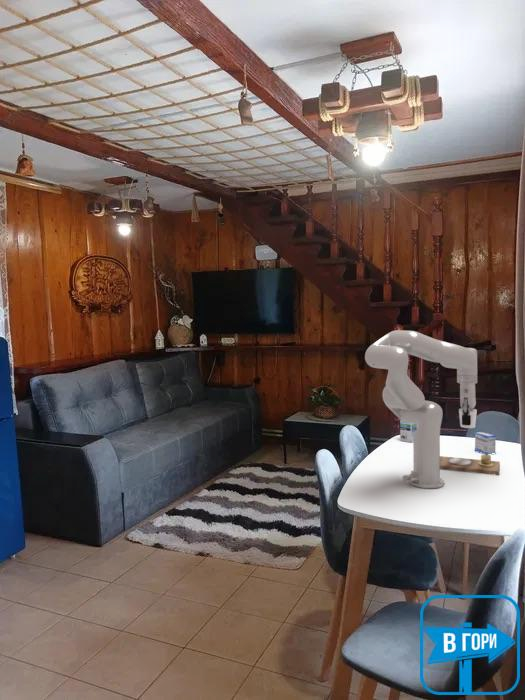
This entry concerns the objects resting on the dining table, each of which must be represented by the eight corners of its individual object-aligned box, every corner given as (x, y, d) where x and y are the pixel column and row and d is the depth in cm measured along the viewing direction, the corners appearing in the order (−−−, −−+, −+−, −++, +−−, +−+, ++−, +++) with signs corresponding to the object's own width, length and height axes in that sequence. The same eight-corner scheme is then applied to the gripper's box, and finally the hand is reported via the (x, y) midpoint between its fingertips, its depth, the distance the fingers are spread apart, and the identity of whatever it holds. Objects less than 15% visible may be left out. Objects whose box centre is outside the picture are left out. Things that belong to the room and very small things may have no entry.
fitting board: (435, 468, 217) (435, 456, 216) (439, 459, 229) (439, 447, 229) (498, 475, 207) (499, 461, 206) (499, 465, 219) (499, 452, 219)
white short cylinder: (457, 427, 210) (457, 410, 209) (460, 423, 216) (460, 407, 215) (475, 429, 206) (475, 411, 206) (478, 425, 212) (478, 408, 212)
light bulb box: (412, 443, 258) (412, 421, 257) (399, 441, 263) (399, 419, 262) (422, 438, 266) (422, 417, 265) (409, 436, 270) (409, 416, 270)
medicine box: (474, 451, 241) (474, 432, 241) (481, 449, 243) (481, 431, 242) (488, 455, 234) (488, 436, 233) (495, 453, 236) (495, 434, 235)
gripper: (474, 382, 200) (475, 428, 202) (479, 376, 215) (479, 419, 217) (454, 381, 204) (454, 427, 205) (460, 375, 219) (460, 417, 221)
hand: (467, 422), depth 211 cm, fingers closed on white short cylinder, 6 cm apart
